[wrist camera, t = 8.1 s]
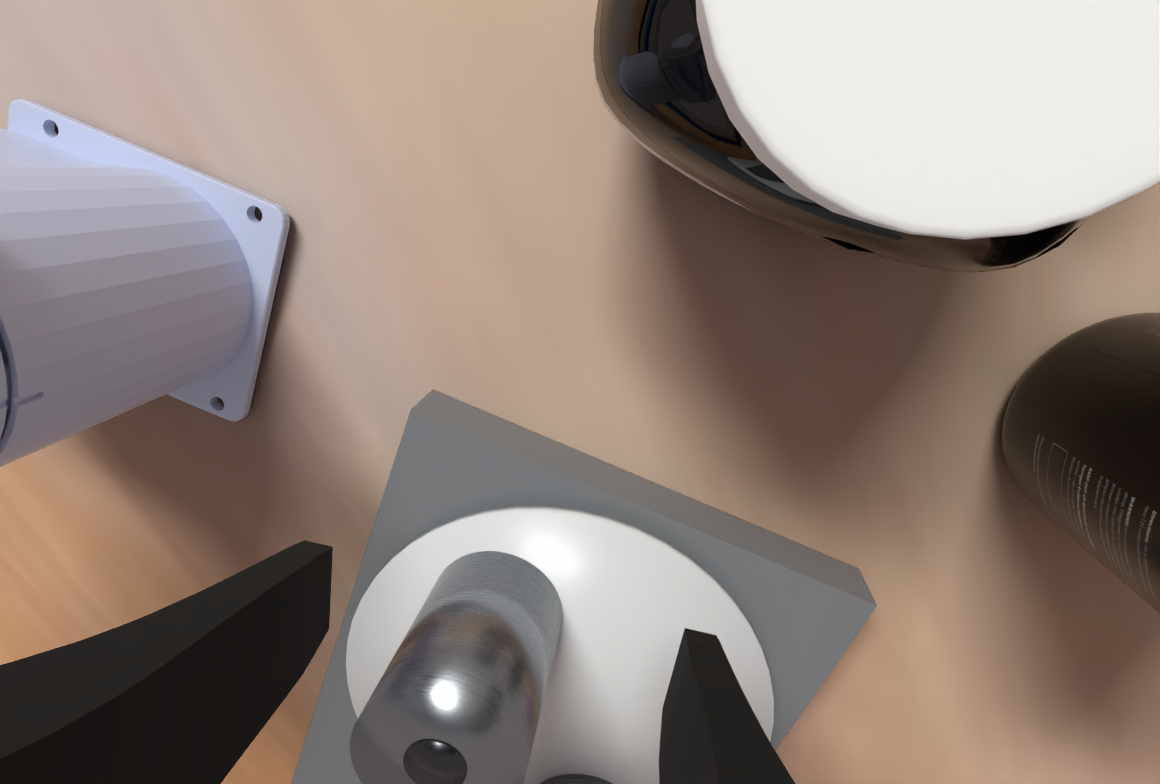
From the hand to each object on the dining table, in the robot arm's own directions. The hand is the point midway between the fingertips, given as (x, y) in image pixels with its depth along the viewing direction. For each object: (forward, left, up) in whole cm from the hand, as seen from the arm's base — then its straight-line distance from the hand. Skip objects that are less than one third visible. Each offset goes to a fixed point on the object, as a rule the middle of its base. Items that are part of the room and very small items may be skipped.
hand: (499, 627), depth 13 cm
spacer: (0, -6, -7) cm, 9 cm away
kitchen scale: (+3, -10, -10) cm, 15 cm away
